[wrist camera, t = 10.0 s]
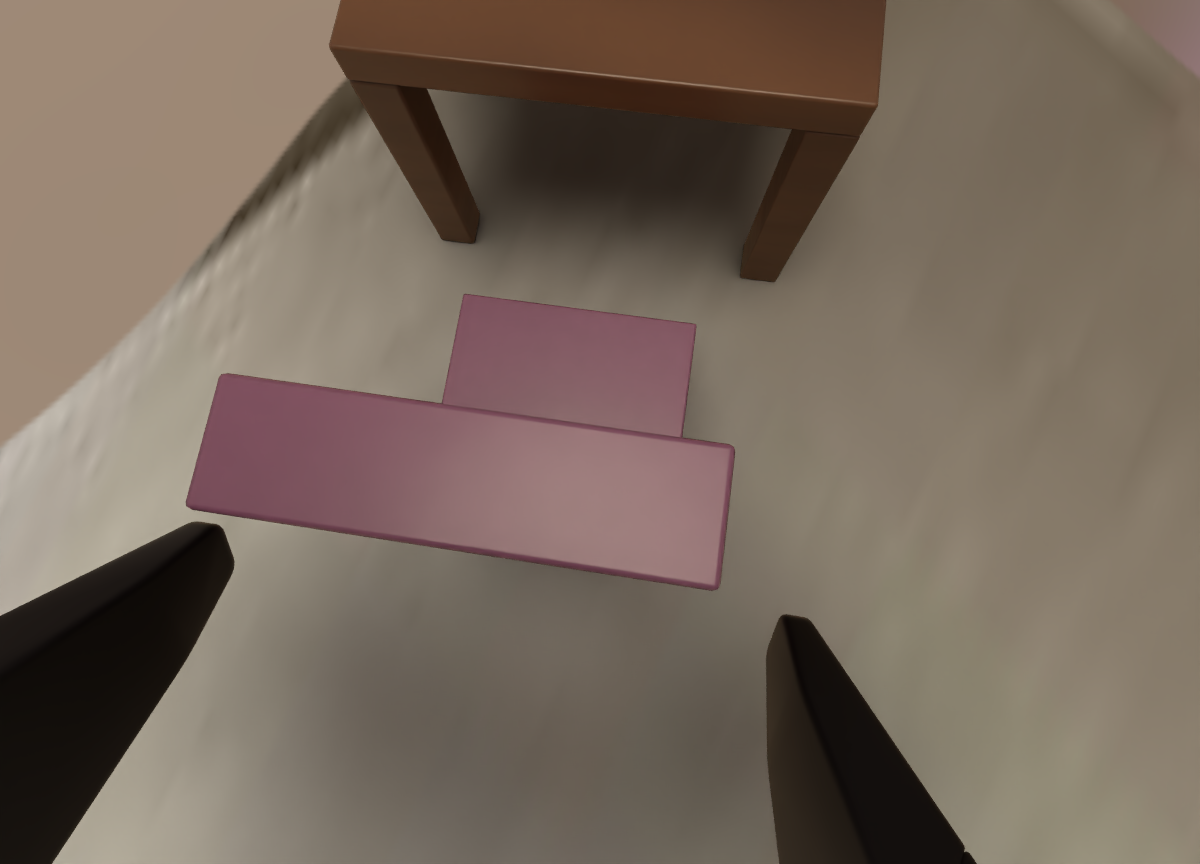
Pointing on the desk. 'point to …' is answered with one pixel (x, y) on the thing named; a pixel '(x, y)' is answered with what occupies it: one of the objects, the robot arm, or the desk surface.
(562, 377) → the chair
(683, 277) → the desk surface
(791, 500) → the desk surface
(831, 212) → the desk surface
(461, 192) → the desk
